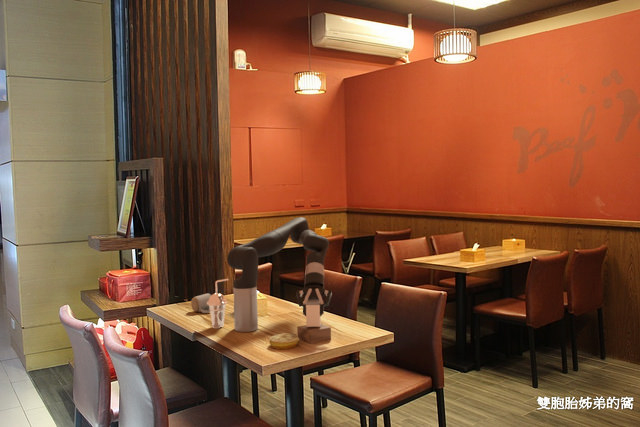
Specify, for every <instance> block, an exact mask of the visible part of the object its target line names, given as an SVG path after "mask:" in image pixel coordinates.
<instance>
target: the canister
mask: <svg viewBox="0 0 640 427" xmlns="http://www.w3.org/2000/svg"><path fill="white" fill-rule="evenodd" d="M305 318H306V324H305V325H307V327H320V325H321V324H322V316H320V300H319V299H313V300H307V301H306V316H305Z"/></svg>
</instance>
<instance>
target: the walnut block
mask: <svg viewBox="0 0 640 427" xmlns="http://www.w3.org/2000/svg"><path fill="white" fill-rule="evenodd" d="M296 328H297V329H296V330H297V334H296V336H297V337H298V338H299V341H300V340H301V341H303V342H306V343H308V344H317V343H320V342H325V341H329V340H332V327H330V326H328V325H324V324H322V323H321V325H320V327H307V325H306V324H305V325H304V324H303V325H297V327H296Z"/></svg>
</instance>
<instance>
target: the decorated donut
mask: <svg viewBox="0 0 640 427" xmlns="http://www.w3.org/2000/svg"><path fill="white" fill-rule="evenodd" d="M299 341H300V339H299V338H298V337H297V334H294V333H288V332H284V333H279V334H274V335H272V336H270V338H269V340H268V342H269V344H270V347H272V348H274V349H276V350H277V349H278V350H288V349H291V348H295V347H296V346H297V345H298V343H299Z"/></svg>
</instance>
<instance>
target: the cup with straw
mask: <svg viewBox="0 0 640 427" xmlns="http://www.w3.org/2000/svg"><path fill="white" fill-rule="evenodd" d="M229 280H230V278H223V279H218V280H216V281H215V285H214V286H215V293H213V294H210V295H211V296H210V298H209V301H208V302H207V305H209V310H210V313H209V314H210V321H211V324H212V328H213V329H221V328H220V327H222V328H224V327H223V326H224V325H225V313H226V306H227V304H228V300H227V299H226V297H225V295H224V294H222V293H218V283H220V282H226V281H229ZM209 310H208V311H209Z"/></svg>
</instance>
